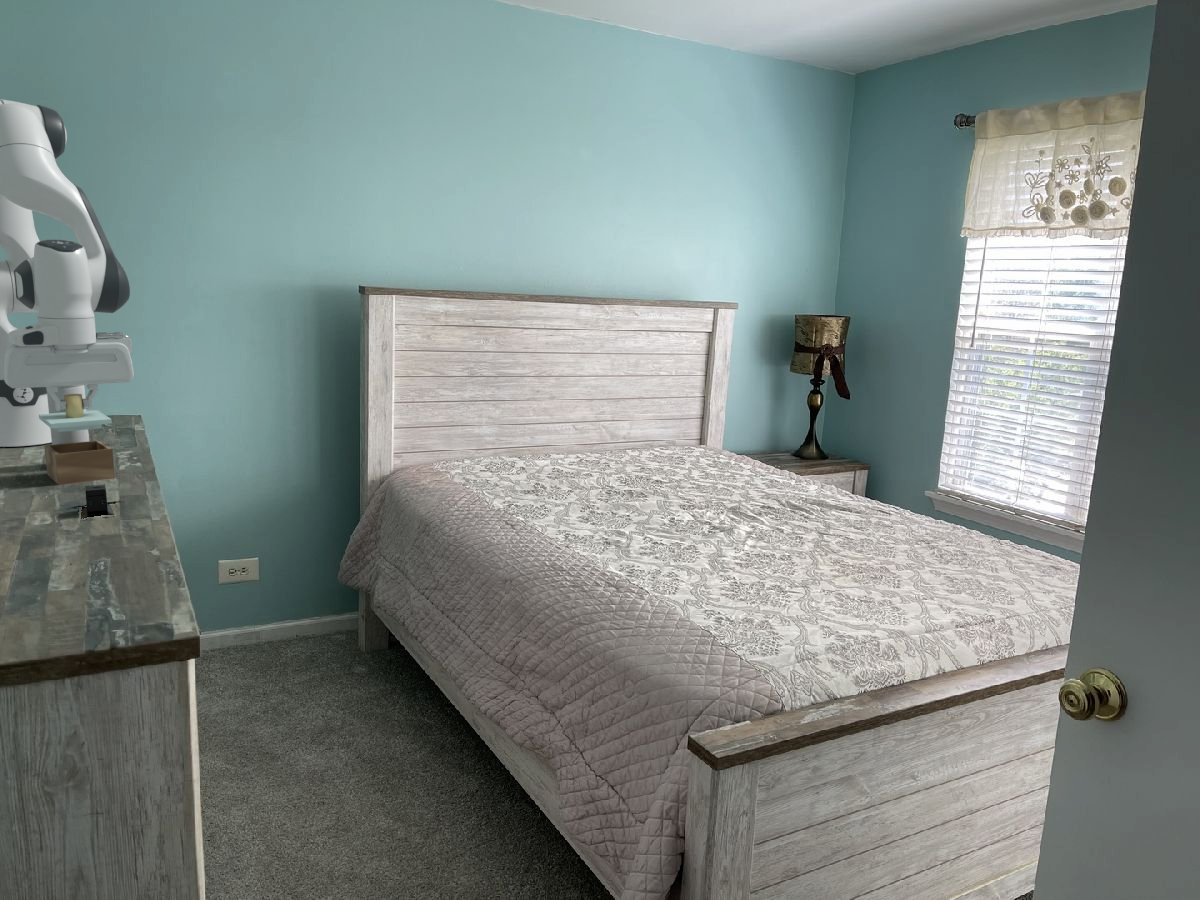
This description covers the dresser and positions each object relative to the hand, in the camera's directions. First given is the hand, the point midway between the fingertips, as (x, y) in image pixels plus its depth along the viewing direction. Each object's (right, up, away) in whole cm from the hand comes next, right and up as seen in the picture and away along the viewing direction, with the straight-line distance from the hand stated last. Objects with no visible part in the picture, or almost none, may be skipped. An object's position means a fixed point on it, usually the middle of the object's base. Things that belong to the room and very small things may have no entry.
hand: (74, 409), depth 163 cm
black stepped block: (+15, -18, -18) cm, 30 cm away
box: (0, -13, +2) cm, 13 cm away
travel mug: (-6, -11, +11) cm, 17 cm away
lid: (0, -2, 0) cm, 2 cm away
